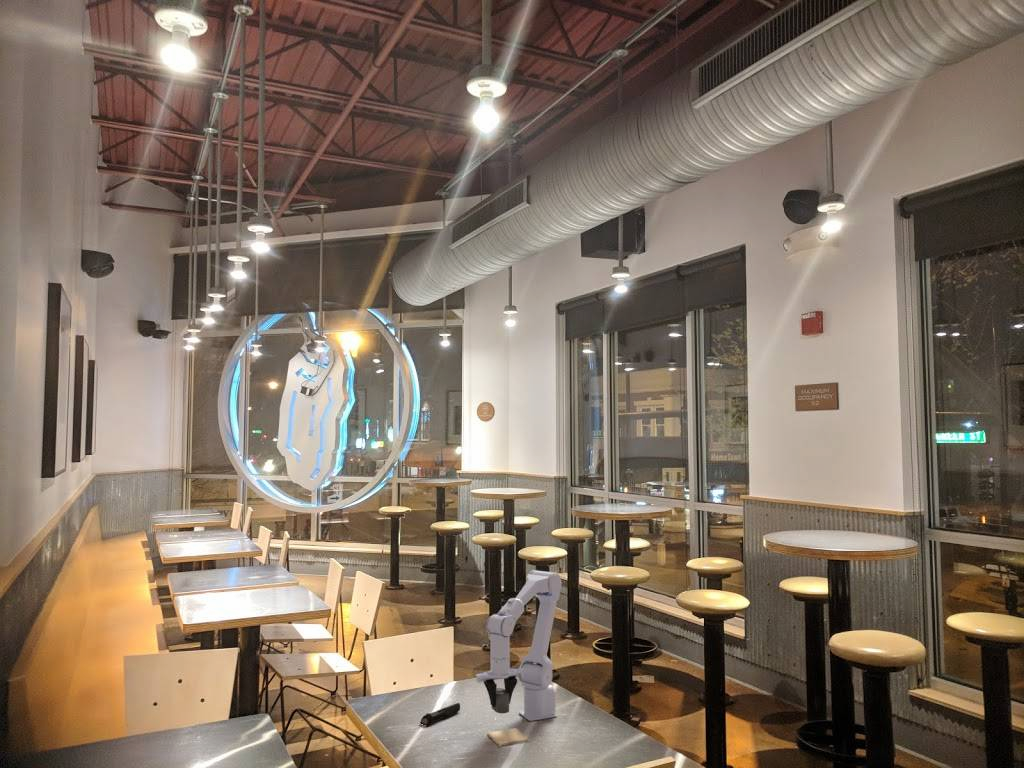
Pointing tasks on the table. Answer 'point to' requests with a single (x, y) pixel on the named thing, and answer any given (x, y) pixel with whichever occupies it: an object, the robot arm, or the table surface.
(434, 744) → the table surface
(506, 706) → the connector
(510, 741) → the pad
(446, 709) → the electric trimmer
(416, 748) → the table surface
